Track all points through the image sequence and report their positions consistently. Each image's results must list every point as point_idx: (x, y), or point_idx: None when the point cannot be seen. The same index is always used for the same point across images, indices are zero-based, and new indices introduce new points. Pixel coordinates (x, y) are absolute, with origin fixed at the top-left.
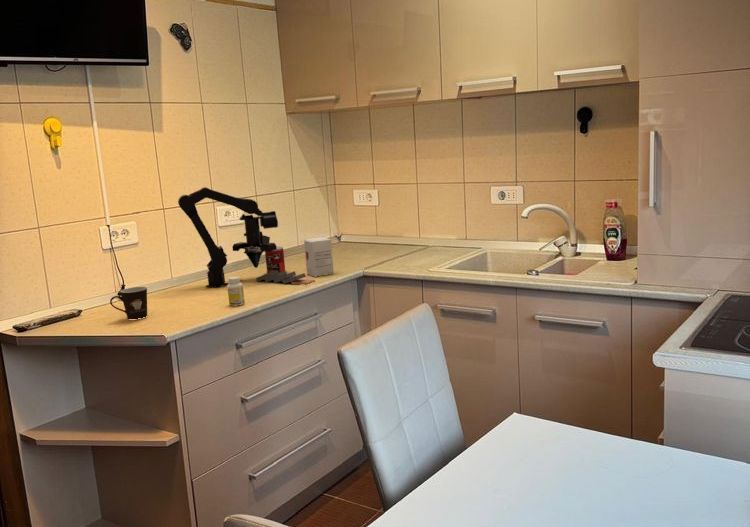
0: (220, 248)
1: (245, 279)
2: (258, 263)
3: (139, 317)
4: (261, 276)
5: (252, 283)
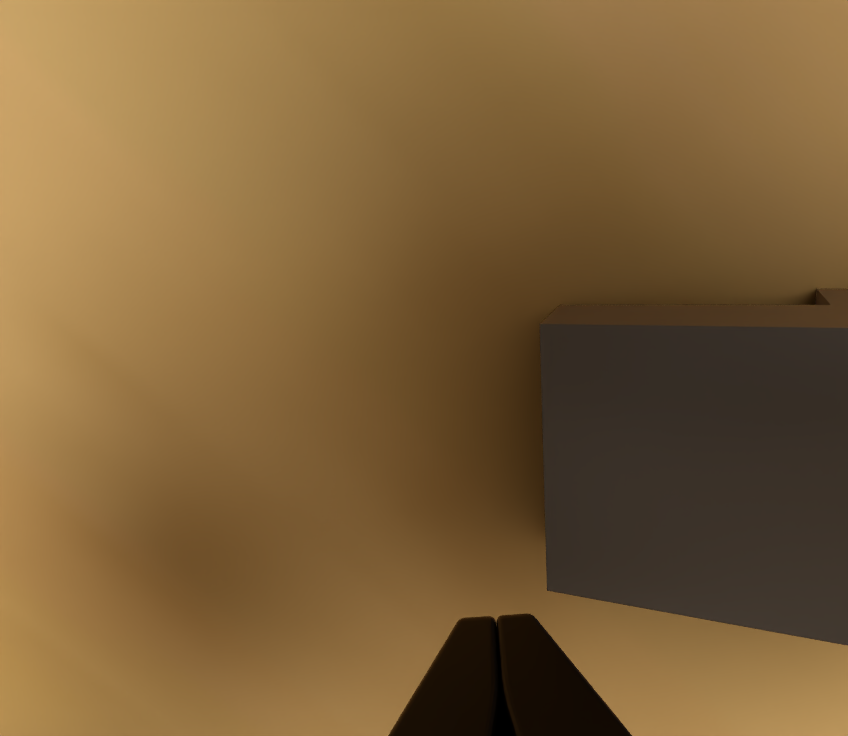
0: None
1: (132, 441)
2: (601, 714)
3: None
4: (742, 614)
5: None
